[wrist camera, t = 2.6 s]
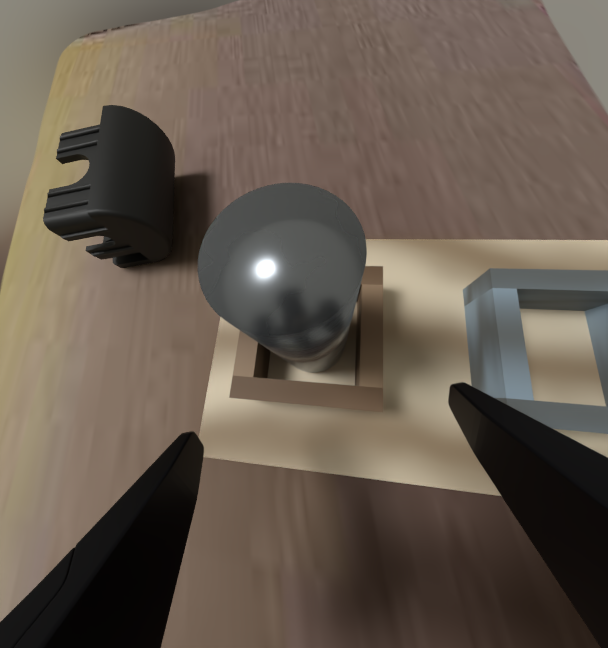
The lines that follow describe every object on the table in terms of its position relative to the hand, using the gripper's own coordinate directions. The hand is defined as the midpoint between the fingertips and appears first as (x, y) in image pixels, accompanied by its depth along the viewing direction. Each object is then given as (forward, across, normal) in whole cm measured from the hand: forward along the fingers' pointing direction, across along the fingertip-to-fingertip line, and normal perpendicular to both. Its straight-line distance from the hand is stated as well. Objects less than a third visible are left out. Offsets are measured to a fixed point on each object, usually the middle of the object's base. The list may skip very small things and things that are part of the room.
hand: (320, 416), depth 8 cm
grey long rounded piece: (+8, 0, +2) cm, 9 cm away
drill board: (+8, -7, +4) cm, 11 cm away
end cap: (+20, +13, -7) cm, 25 cm away
